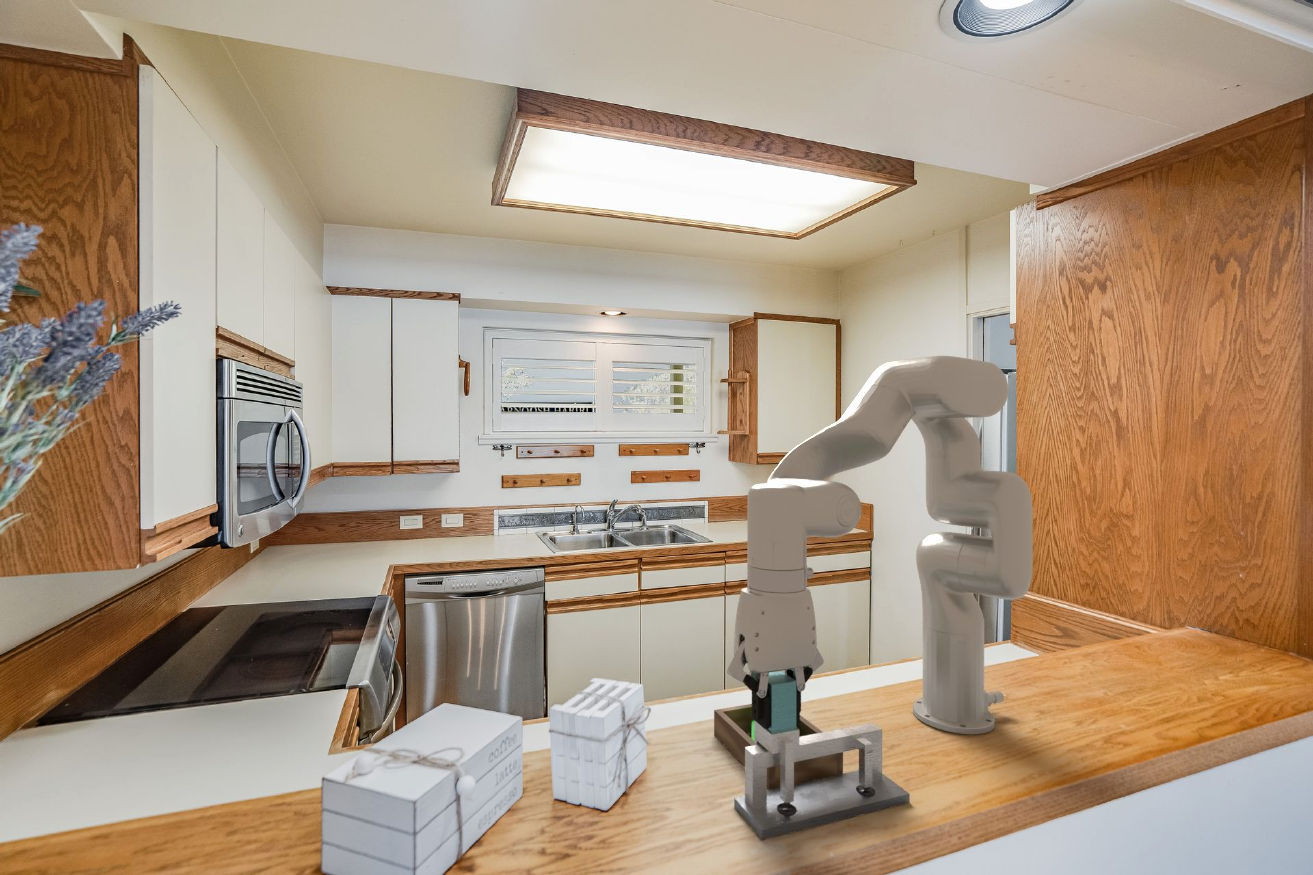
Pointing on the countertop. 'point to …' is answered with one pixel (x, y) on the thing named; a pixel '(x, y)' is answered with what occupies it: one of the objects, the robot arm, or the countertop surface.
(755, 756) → the metal bridge frame
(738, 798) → the bolt plate
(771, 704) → the sliding leg
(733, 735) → the parts tray
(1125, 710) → the countertop surface
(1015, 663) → the countertop surface
